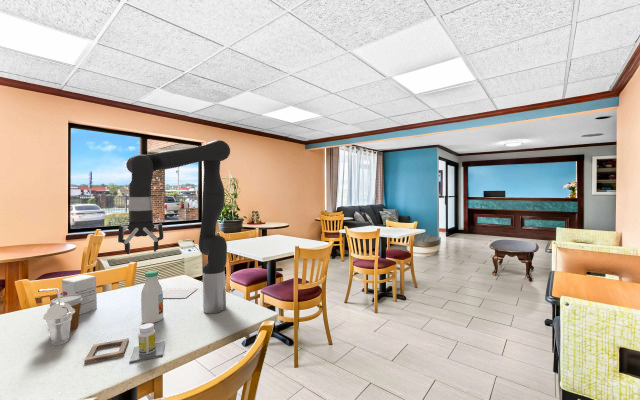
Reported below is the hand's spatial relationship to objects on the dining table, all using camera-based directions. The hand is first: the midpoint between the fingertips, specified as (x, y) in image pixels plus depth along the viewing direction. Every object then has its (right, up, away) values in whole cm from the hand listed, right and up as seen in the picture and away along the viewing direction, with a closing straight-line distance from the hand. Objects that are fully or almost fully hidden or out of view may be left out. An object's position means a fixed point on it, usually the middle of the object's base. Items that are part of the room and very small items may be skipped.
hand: (142, 252), depth 108 cm
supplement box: (-40, -30, +20) cm, 53 cm away
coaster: (+10, -31, -13) cm, 35 cm away
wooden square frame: (-3, -31, -13) cm, 33 cm away
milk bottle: (-2, -30, +11) cm, 32 cm away
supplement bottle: (+10, -30, -13) cm, 34 cm away
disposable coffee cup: (-31, -30, +3) cm, 43 cm away
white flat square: (-12, -29, +36) cm, 48 cm away
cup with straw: (-25, -31, -6) cm, 40 cm away
